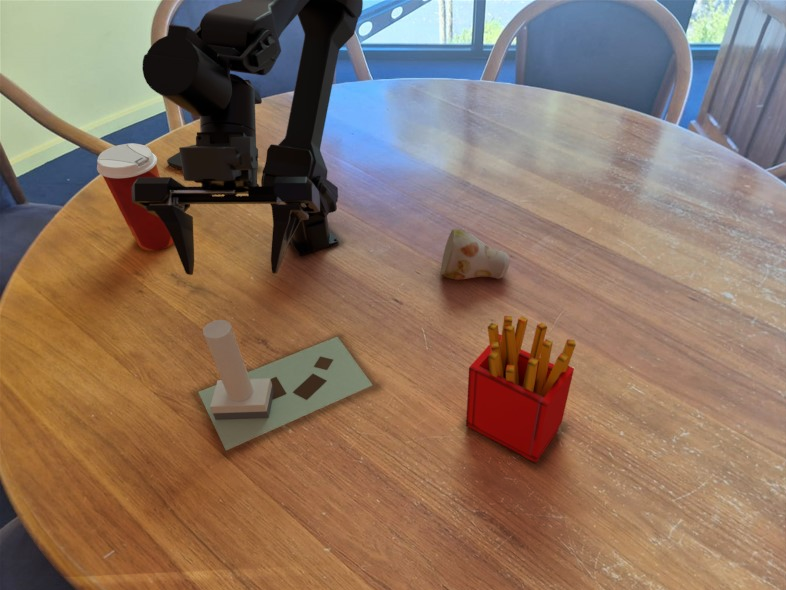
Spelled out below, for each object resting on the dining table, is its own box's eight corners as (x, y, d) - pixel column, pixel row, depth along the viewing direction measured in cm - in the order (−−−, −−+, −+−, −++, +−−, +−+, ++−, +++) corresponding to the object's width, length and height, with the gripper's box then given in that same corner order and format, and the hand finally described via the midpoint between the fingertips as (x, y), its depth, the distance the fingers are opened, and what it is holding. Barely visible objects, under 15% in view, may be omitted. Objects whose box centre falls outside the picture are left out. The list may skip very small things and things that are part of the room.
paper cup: (195, 233, 96) (166, 149, 86) (158, 260, 91) (123, 174, 81) (156, 220, 98) (123, 136, 88) (118, 245, 93) (79, 160, 83)
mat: (198, 394, 74) (197, 391, 73) (337, 338, 81) (337, 335, 81) (226, 452, 68) (225, 450, 68) (373, 387, 75) (372, 384, 75)
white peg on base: (215, 420, 71) (181, 343, 62) (222, 393, 73) (191, 316, 64) (268, 418, 71) (243, 341, 62) (274, 391, 74) (250, 314, 65)
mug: (514, 291, 89) (485, 249, 82) (455, 304, 93) (422, 265, 86) (517, 250, 93) (489, 207, 85) (459, 265, 97) (428, 224, 90)
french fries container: (495, 390, 76) (504, 304, 66) (562, 424, 72) (582, 338, 62) (464, 429, 71) (468, 343, 61) (534, 466, 68) (550, 381, 58)
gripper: (102, 103, 59) (107, 265, 60) (299, 104, 61) (303, 263, 61) (153, 141, 71) (157, 278, 71) (319, 141, 72) (322, 275, 72)
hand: (232, 273), depth 68 cm, fingers open, 9 cm apart
